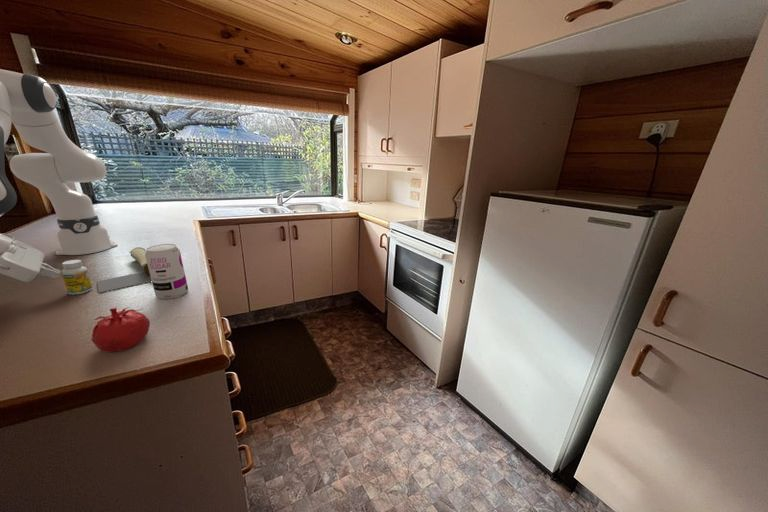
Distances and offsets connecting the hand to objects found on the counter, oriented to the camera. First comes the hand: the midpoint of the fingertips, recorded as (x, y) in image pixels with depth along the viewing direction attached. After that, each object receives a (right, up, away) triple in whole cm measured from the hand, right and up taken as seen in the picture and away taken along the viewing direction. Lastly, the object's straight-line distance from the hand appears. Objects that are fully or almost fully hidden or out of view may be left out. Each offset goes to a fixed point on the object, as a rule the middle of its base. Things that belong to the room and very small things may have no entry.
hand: (58, 275), depth 85 cm
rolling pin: (+7, +1, +23) cm, 24 cm away
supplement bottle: (+2, -5, +4) cm, 7 cm away
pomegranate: (+36, -15, -18) cm, 43 cm away
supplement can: (+30, -6, +4) cm, 31 cm away
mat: (+11, -2, +13) cm, 17 cm away
